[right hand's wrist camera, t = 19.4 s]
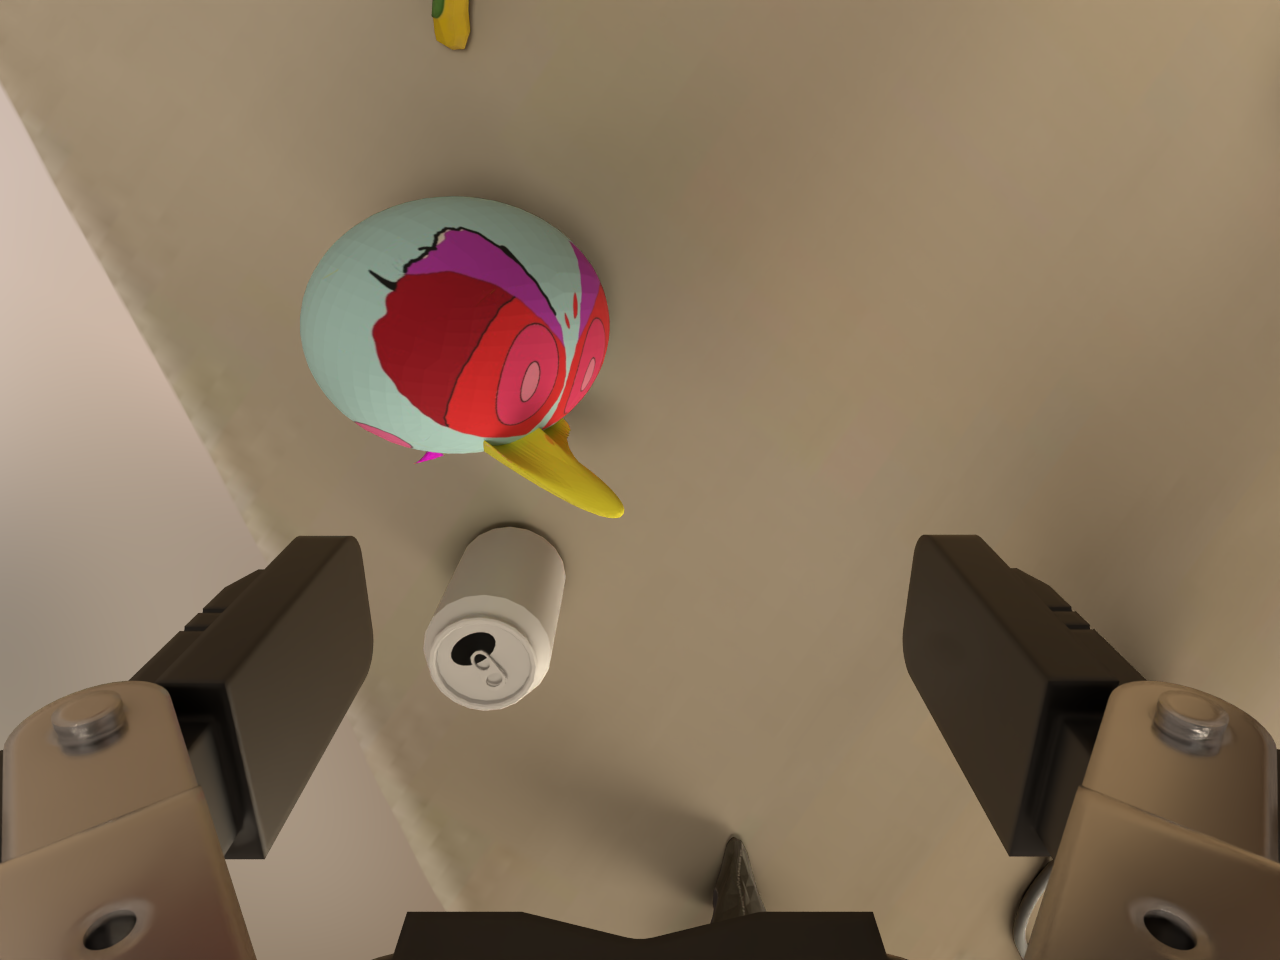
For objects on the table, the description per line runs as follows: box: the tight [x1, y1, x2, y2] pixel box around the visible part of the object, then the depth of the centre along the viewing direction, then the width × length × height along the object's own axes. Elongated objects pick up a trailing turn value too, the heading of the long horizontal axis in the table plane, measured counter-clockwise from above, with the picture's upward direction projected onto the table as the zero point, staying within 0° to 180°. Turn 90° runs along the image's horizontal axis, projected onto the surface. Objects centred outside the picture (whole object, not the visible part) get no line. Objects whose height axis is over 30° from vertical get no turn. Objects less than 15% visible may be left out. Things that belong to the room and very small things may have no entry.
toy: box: [300, 196, 624, 518], centre depth 40 cm, size 18×18×15 cm
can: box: [423, 527, 566, 711], centre depth 49 cm, size 8×8×12 cm
